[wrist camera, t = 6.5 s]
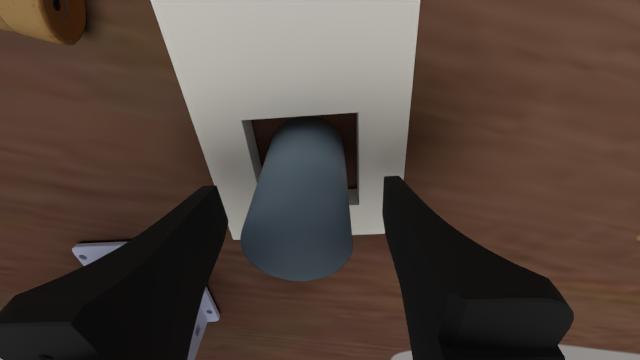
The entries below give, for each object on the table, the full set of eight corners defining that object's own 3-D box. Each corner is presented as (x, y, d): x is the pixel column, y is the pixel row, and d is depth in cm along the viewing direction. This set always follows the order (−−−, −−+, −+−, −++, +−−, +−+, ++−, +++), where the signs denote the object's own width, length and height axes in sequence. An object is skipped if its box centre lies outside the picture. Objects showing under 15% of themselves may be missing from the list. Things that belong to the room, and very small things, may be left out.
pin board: (393, 216, 19) (398, 233, 18) (239, 223, 20) (233, 239, 18) (453, -543, 7) (481, -661, 5) (25, -455, 7) (-38, -544, 6)
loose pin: (343, 114, 15) (353, 200, 10) (343, 179, 18) (352, 280, 12) (265, 117, 15) (229, 203, 10) (276, 181, 18) (251, 282, 12)
